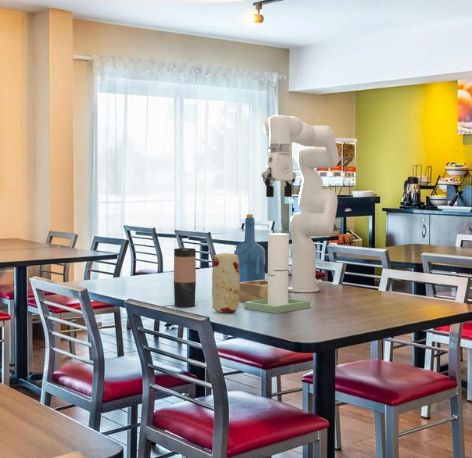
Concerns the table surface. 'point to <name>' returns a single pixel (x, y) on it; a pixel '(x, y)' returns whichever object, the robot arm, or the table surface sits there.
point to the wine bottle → (250, 254)
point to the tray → (263, 306)
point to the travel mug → (184, 277)
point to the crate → (253, 290)
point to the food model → (225, 282)
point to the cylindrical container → (278, 268)
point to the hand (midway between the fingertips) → (279, 196)
